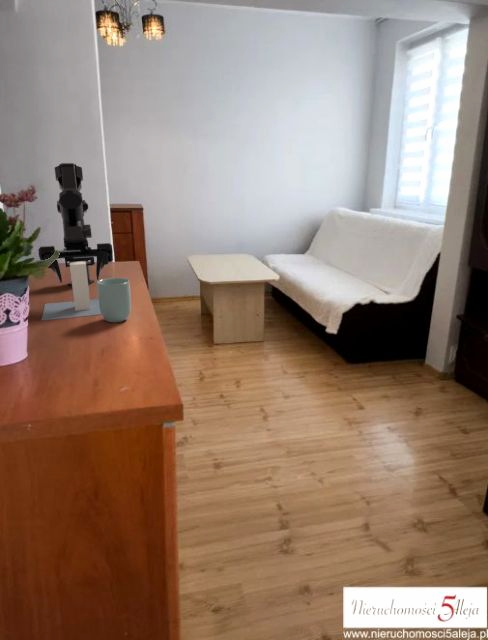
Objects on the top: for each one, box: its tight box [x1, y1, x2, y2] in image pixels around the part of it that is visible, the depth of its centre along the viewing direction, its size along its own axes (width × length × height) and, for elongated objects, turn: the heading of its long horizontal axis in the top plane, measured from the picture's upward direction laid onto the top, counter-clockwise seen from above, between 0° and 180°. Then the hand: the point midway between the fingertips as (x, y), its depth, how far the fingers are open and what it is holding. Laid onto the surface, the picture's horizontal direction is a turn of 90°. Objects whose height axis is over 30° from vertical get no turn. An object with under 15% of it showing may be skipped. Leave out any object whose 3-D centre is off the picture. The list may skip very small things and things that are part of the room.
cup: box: [96, 277, 132, 323], centre depth 113 cm, size 8×8×10 cm
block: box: [69, 261, 91, 311], centre depth 123 cm, size 4×4×12 cm
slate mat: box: [40, 298, 102, 322], centre depth 125 cm, size 16×20×1 cm
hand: (79, 280), depth 121 cm, fingers open, 9 cm apart
